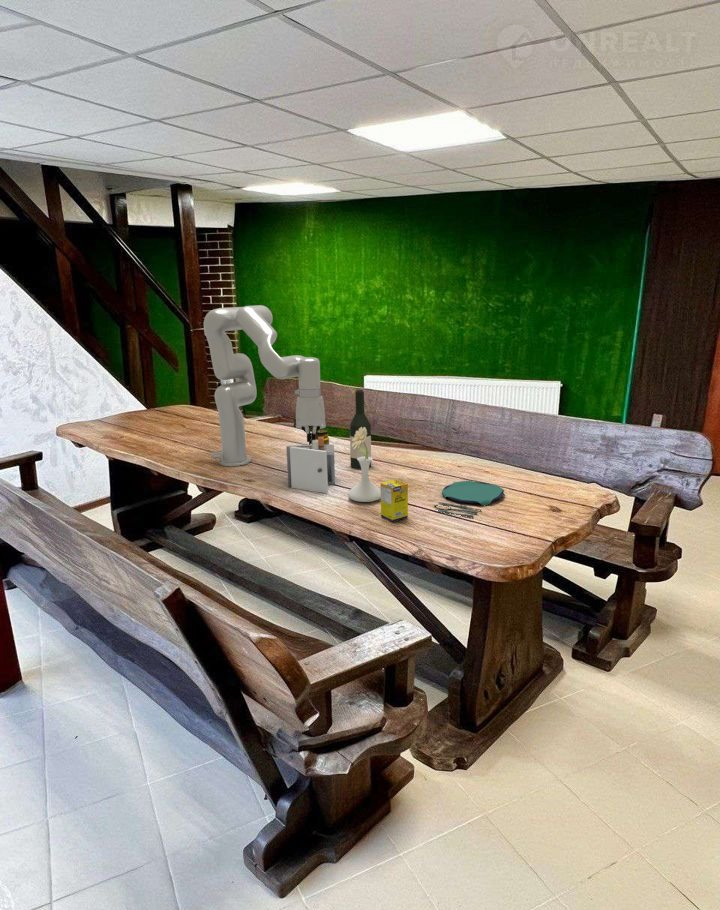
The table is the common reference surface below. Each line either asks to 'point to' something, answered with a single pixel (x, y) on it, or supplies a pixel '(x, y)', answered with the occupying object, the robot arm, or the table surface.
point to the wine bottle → (355, 424)
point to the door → (307, 469)
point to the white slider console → (329, 460)
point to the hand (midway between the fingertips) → (311, 443)
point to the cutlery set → (471, 494)
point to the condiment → (322, 434)
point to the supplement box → (394, 500)
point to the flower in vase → (363, 473)
